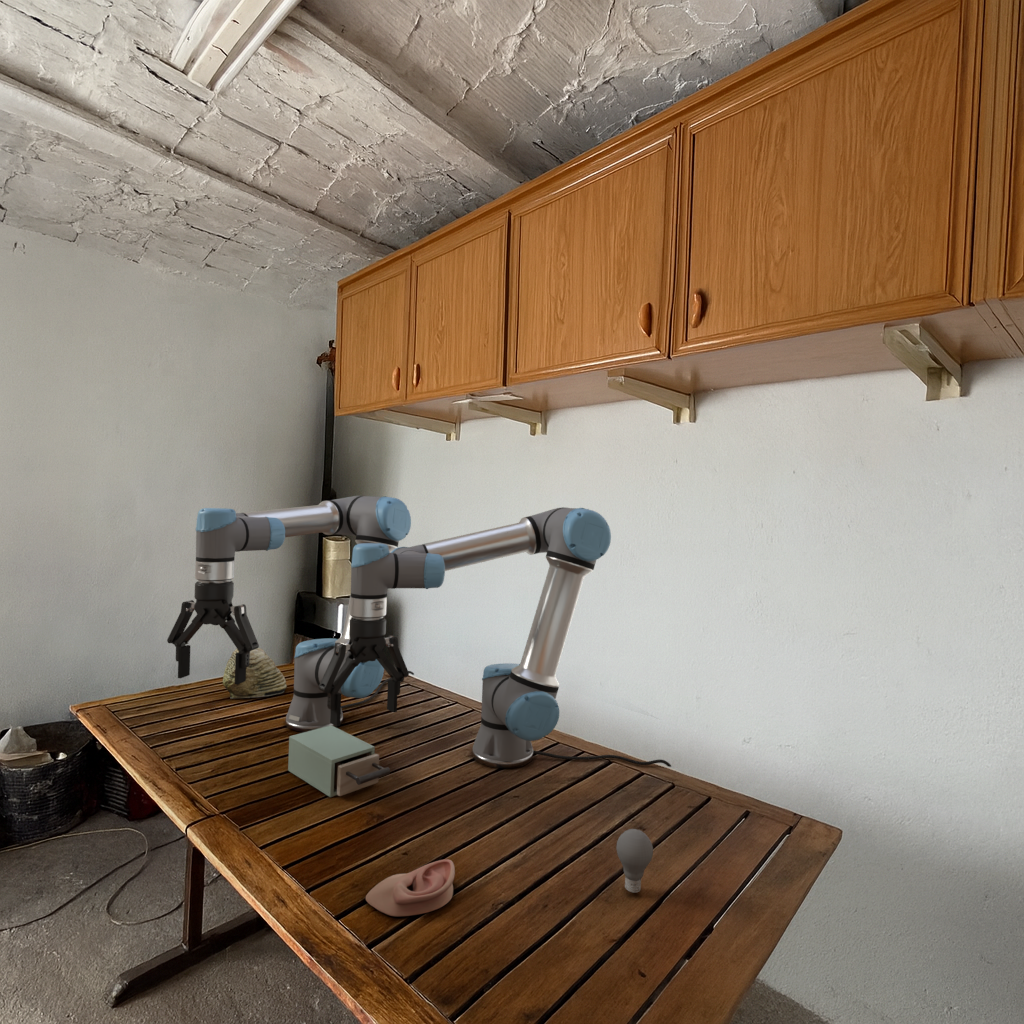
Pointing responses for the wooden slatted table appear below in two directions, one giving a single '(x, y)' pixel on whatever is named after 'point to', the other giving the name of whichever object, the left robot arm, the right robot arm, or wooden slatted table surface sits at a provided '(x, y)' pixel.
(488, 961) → the wooden slatted table surface
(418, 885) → the anatomical model
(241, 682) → the left robot arm
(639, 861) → the light bulb
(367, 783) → the drawer
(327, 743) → the cabinet
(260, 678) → the fossil
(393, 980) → the wooden slatted table surface
